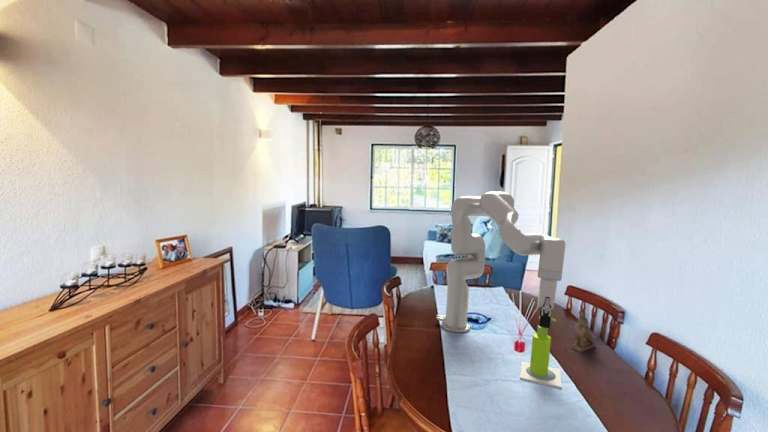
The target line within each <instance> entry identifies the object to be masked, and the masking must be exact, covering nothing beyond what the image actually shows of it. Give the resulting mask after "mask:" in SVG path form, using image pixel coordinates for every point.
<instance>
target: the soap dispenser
mask: <svg viewBox="0 0 768 432" xmlns="http://www.w3.org/2000/svg"><path fill="white" fill-rule="evenodd" d="M538 319H539V320H540V315H539V316H538ZM550 322H555V323H556V322H557V320H556V318H554V317H552V316H551V320H550ZM536 327H537V329H536V332H534V333H533V334H532V341H531V351H530V362H529V363H530V372H531V373H532V374H534V375H537V376H547V375H548V367H550V365H549V362H550V356H551V355H550V354H551V346H552V345H551V343H552V336H550V335H548V333H549V332H548V331H549V328H545V327H540V326H539V324H538V325H537V326H536Z"/></svg>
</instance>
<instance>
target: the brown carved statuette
mask: <svg viewBox="0 0 768 432" xmlns="http://www.w3.org/2000/svg"><path fill="white" fill-rule="evenodd" d="M578 314H579V317H578V320H577V323H576V324H575V325H574V327H573V328H574V329H573V331H574V337H575V340H574V341H575V342H574V343H572V344H571V345H570V349H572V350H575V351H578V352H580V353H582V352H584V351H587V350H590V349H593V348H594V347H596V345H595V344H596V342H595V341H594V339H593V336H592V334H591V331H590V327H589V320H588V319H587V317H586V312H585V311H584V310H579V311H578Z"/></svg>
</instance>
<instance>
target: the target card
mask: <svg viewBox="0 0 768 432" xmlns="http://www.w3.org/2000/svg"><path fill="white" fill-rule="evenodd" d="M520 366H521V367H520V375H519V380H522V381H525V382H526V381H527V382H531V383H535V384H540V385H542V386H543V385H544V386H549V387H551V388H552V387H553V388H557V389H561V390H562V389H563V386H562V385H563V384H562V373H561V368H556V367H551V366H548V375H547V376H537V375H534V374H532V373H531V372H530V362H528V361H524V360H522V361H521V365H520Z"/></svg>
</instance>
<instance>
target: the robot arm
mask: <svg viewBox="0 0 768 432" xmlns="http://www.w3.org/2000/svg"><path fill="white" fill-rule="evenodd" d="M514 207H515V200H514V198H513V195H512V194H510V193H508V192H506V191H486V192H485V193H483V194H482V195H481V196H478V195H476V196H475V195H464V196H459V197H458V198H455V200H454V201H453V203H452V204H451V207H450V208H451V209H450V214H451V240H450V241H451V242H450V243H451V244H450V247H451V249H450V250H451V252H452V254H454V255H455V256H459V257H458V258H454V259H451V260H449V262H448V263H447V264H446V270H445V271H446V278H447V286H446V287H447V289H446V290H447V291H446V305H445V306H446V307H445V314H444V315H441V314H436V317H435V319H437V321H440V322H441V328H443V329H444V330H446V331H448V332H451V333H467V332H469V331H470V330H471V326H470V324H468V323H467V322H468V309H469V296H470V295H469V294H470V289H469V285H468V283H467V281H466V280H471V279H472V280H473V279H477V278H480V277H481V276H482V275H483V274H484V271H485V262H486V261H485V259H486V242H485V240H484V238H483V236H481V235H480V234H479V233H472V229H473V228H472V227H473V226H472V222H471V219H470V218H469V217H474V216H475V217H486V216H487V217H488V216H489V218H491V219H492V221H493V222H495V223H496V224H497V226H498V227H499V234H500V237H501V239H502V241H503V243H504V244H505V245H506V246H507V247H508V248H509V249H510V250H511V251H513V253H516V254H517V255H518V256H533V255H534V256H537V255H539V261H538V269H537V270H538V271H537V278H539V284H538V285H539V287H538V295H537V297H538V298H537V308H540V310H539V311H540V312H539V316H540V319H539V322H538V323H539V324H538V325H539V326H540V327H545V328H548V329H550V326H551V317H552V316H551V310H553V309H554V306H555V301H556V295H557V287H558V282H560V281H562V278H563V277H562V276H563V271H564V270H563V268H564V260H565V252H566V241H565V240H564V239H562V238H558V237H555V236H554V237H553V236H552V237H551V236H549V235H547V234H545V233H541V232H540V233H539V232H537V233H531V232H530V233H523V232H521V231H520V230H519V229H518V228H517V226H515V224H516V223H517V221H518V219H519V212H518V211H517V210H516V209H514ZM460 256H468V257H460Z"/></svg>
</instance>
